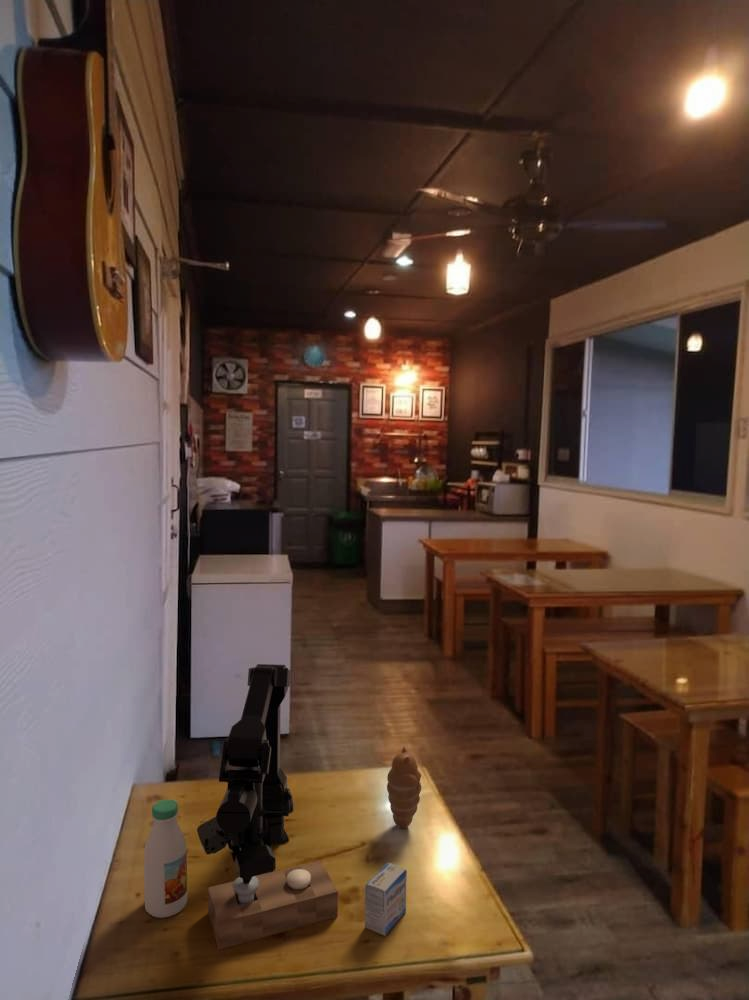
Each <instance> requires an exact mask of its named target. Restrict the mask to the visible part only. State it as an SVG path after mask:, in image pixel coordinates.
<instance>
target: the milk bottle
mask: <svg viewBox="0 0 749 1000" xmlns="http://www.w3.org/2000/svg"><path fill="white" fill-rule="evenodd" d="M178 810H179V806H178V802H177V801H176V800H173V799H161V800H158V801H156V802H155V803H154V804H153V805H152V808H151V815H152V816H151V817H152V820H153V821H152V822H153V823H152V826H151V830H150V832H149V834H148V836H147V839H146V841H145V846H144V850H143V851H144V854H143V855H144V858H143V862H144V863H143V868H144V869H143V871H144V872H143V876H144V877H143V878H144V880H143V882H144V909H145V911H146V913H147V912H148V913H149V914H150V915H149V914H148V913H147V914H148V915H149V916H151V915H152V916H151V917H153V916H154V917H153V918H157V919H159V918H160V919H163V918H164V919H165V918H170V917H172V916H174V915H177V914H178V913H180V912H182V910H184V908H185V906H186V904H187V902H188V859H187V858H188V852H187V851H188V850H187V843H186V842H187V841H186V837H185V835H184V832H183V831H182V828H181V827H180V824H179V823H178V818H177V817H178Z"/></svg>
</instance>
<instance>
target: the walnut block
mask: <svg viewBox="0 0 749 1000" xmlns="http://www.w3.org/2000/svg"><path fill="white" fill-rule="evenodd" d="M296 869H303V870H306V871H308V872H309V873H310V875H311V882H310V884H309V885H308V886H307V887H306V888H303V889H299V890H295V891H292V889H291V887H289V886H288V884H287V875H288V874H289V873H290V872H291V871H293V870H296ZM255 877H257V879H258V889H257V891H256V892H255V893H254V901H252V902H248V903H244V904H240V905H238V894H236V893H235V891H234V881H235V880H233V881H230V882H225V883H221V884H217V885H212V886H209V887H208V888H207V896H208V898H207V902H208V903H207V906H208V907H207V911H208V912H207V913H208V916H209V919H210V920H209V921H210V924H211V928H212V932H213V935H214V938H215V942H216V946H217V950H219V949H220V950H223V949H225V948H226V949H227V948H231V947H232V946H233V947H234V946H237V945H241V944H244V943H248V942H252V941H255V940H258V939H259V940H260V939H262V938H265V937H270V936H273V935H276V934H280V933H284V932H287V931H291V930H294V929H298V928H301V927H305V926H308V925H309V926H310V925H312V924H316V923H320V922H324V921H327V920H331V919H334V918H338V915H339V914H338V912H339V911H338V909H339V904H338V903H339V902H338V901H339V891H338V890H337V887H336V885H335V884H334V882H333V881H332V878H331V877H330V875H329V873H328V871H327V869H326V867H325V866H324V864H323V863H322V861H321V860H316V861H312V862H308V863H303V864H298V865H296V866H291V867H288V868H284V869H283V868H282V869H280V870H274V871H273V872H270V873H266V874H261V875H257V876H255ZM220 950H219V951H220Z"/></svg>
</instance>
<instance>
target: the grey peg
mask: <svg viewBox="0 0 749 1000" xmlns="http://www.w3.org/2000/svg"><path fill="white" fill-rule="evenodd" d="M233 881H234V891H235V893H236V894H238V905H240V904H244V903H248V902H252V901H254V893H255V892H256V891H257V889H258V879H257V877H255V876H253V877H252V879H251V881H250V883H247V884H244V883H243V880H242V878H240V877H239V876H238V877H237V878H236V879H235V880H233Z"/></svg>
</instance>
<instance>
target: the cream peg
mask: <svg viewBox="0 0 749 1000" xmlns="http://www.w3.org/2000/svg"><path fill="white" fill-rule="evenodd" d="M310 882H311V875H310V873H309V872H308V871H306V870H303V869H296V870H293V871H291V872H290V873H289V874H288V875H287V884H288V886H289V887H291V889H292V891H295V890H299V889H303V888H306V887H307V886H308V885H309V884H310Z"/></svg>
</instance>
